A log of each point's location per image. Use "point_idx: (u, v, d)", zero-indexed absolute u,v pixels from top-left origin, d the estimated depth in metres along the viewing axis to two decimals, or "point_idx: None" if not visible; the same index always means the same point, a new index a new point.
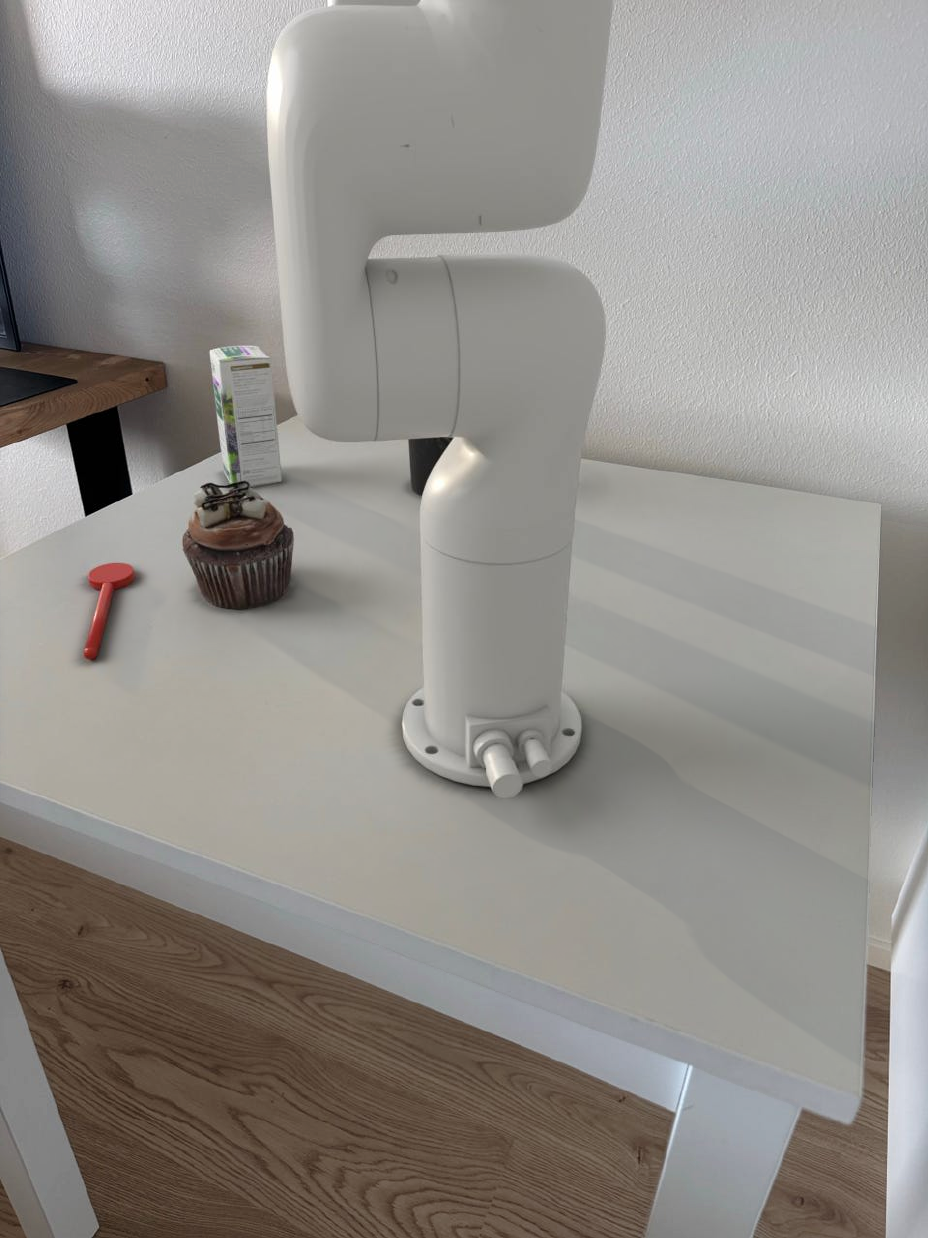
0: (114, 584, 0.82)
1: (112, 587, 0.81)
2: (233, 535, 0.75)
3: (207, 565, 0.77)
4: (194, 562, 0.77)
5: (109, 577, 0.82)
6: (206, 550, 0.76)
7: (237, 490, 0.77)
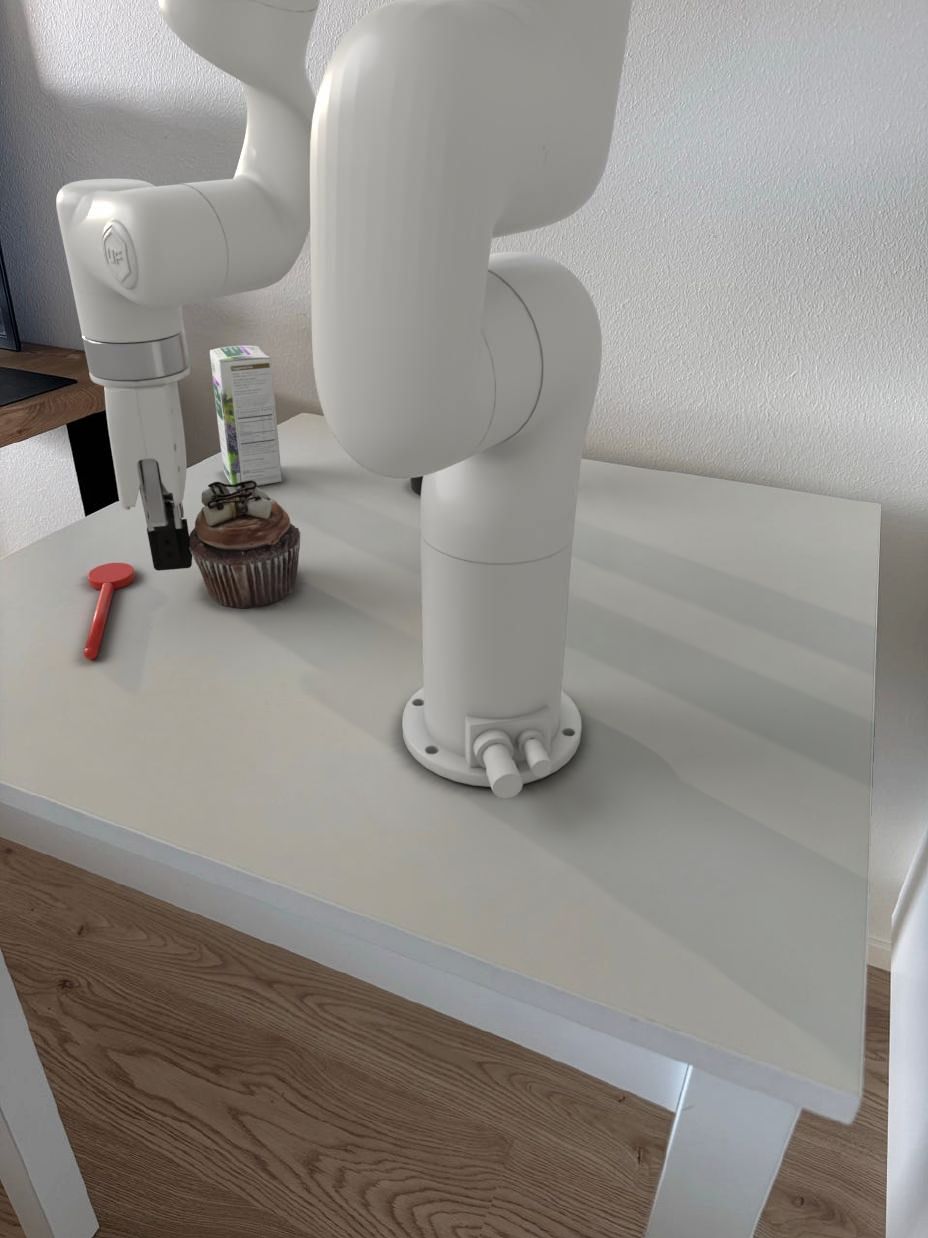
0: (114, 584, 0.82)
1: (112, 587, 0.81)
2: (238, 534, 0.75)
3: (212, 564, 0.77)
4: (200, 560, 0.77)
5: (109, 577, 0.82)
6: (211, 549, 0.76)
7: (244, 489, 0.77)
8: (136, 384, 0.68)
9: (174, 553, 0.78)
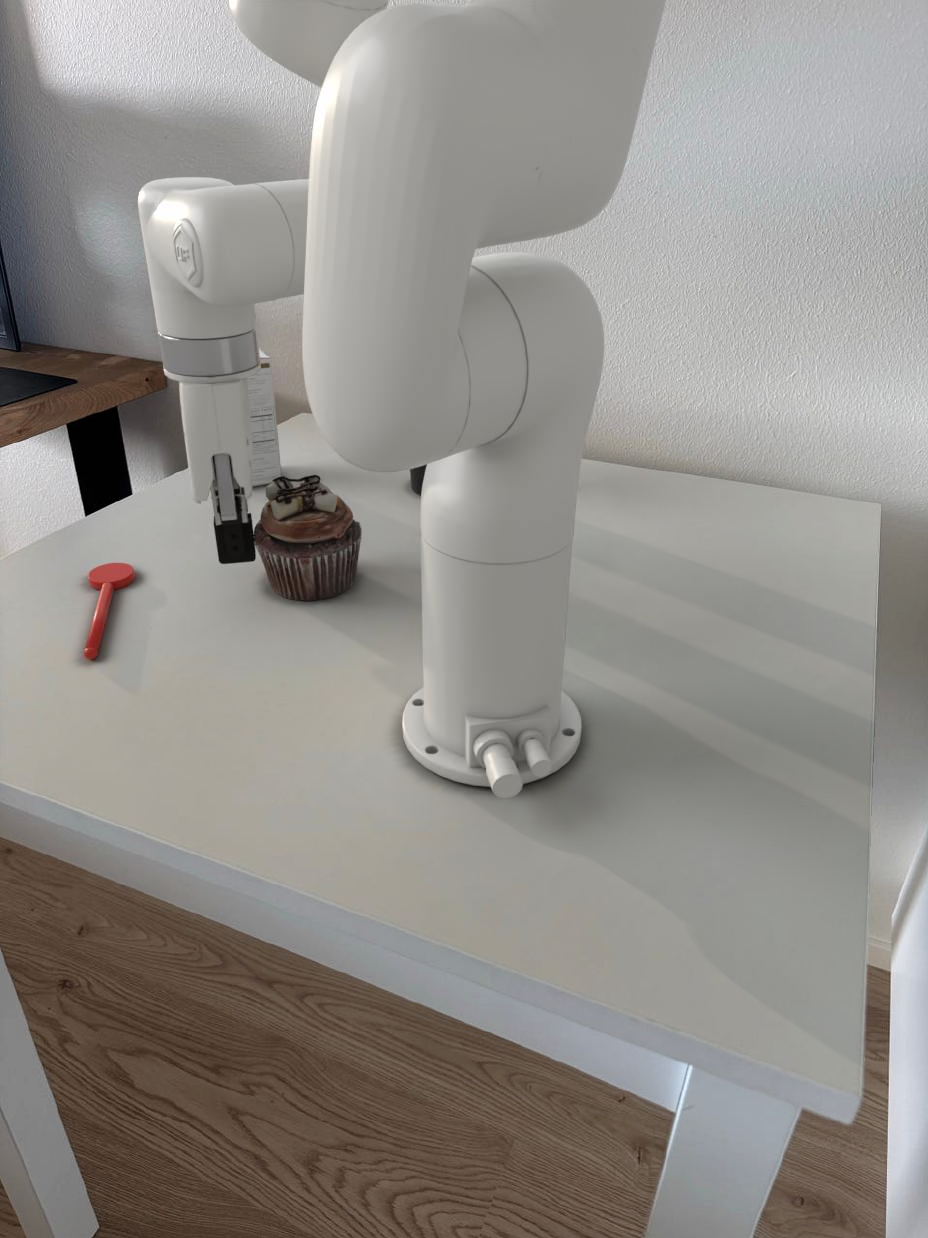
0: (114, 584, 0.82)
1: (112, 587, 0.81)
2: (306, 528, 0.76)
3: (279, 557, 0.78)
4: (266, 554, 0.78)
5: (109, 577, 0.82)
6: (278, 543, 0.77)
7: (309, 484, 0.79)
8: (212, 380, 0.69)
9: (240, 547, 0.79)
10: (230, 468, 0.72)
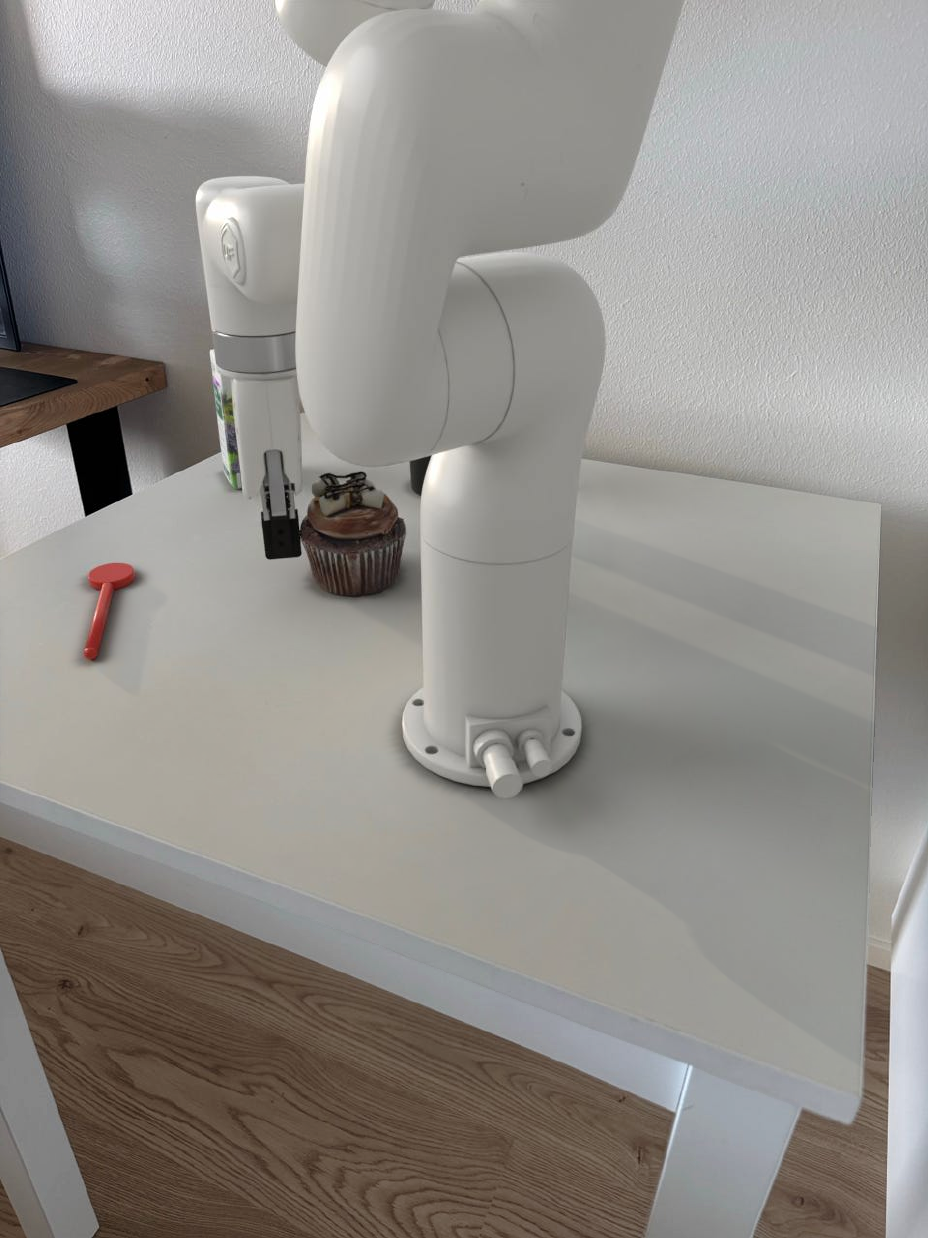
0: (114, 584, 0.82)
1: (112, 587, 0.81)
2: (354, 524, 0.77)
3: (326, 553, 0.79)
4: (313, 550, 0.79)
5: (109, 577, 0.82)
6: (326, 539, 0.78)
7: (355, 480, 0.79)
8: (265, 376, 0.70)
9: (286, 542, 0.80)
10: (281, 464, 0.73)
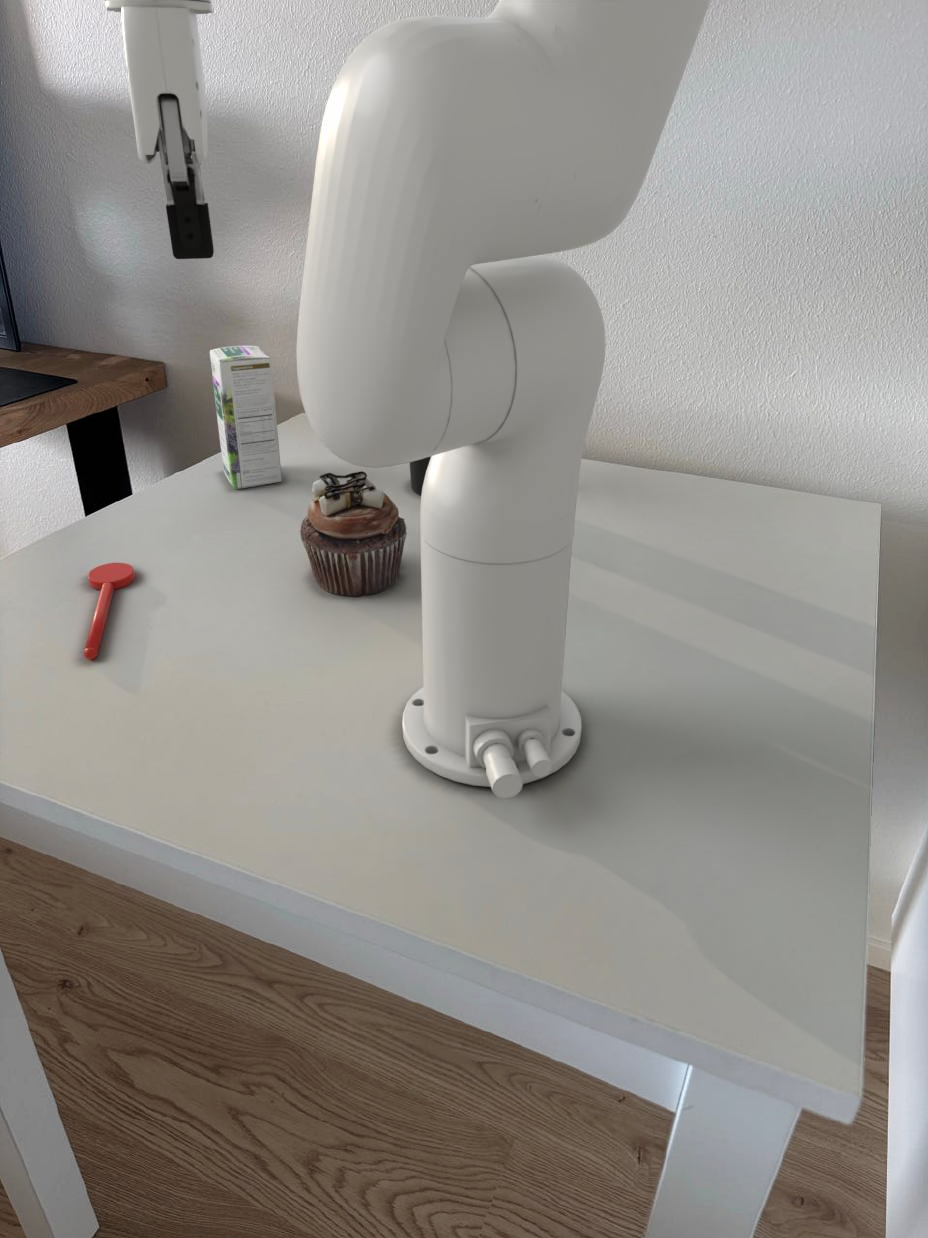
0: (114, 584, 0.82)
1: (112, 587, 0.81)
2: (354, 523, 0.77)
3: (326, 553, 0.79)
4: (313, 550, 0.79)
5: (109, 577, 0.82)
6: (326, 539, 0.78)
7: (355, 480, 0.79)
8: (155, 3, 0.63)
9: (195, 235, 0.73)
10: (178, 116, 0.66)
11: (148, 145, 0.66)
